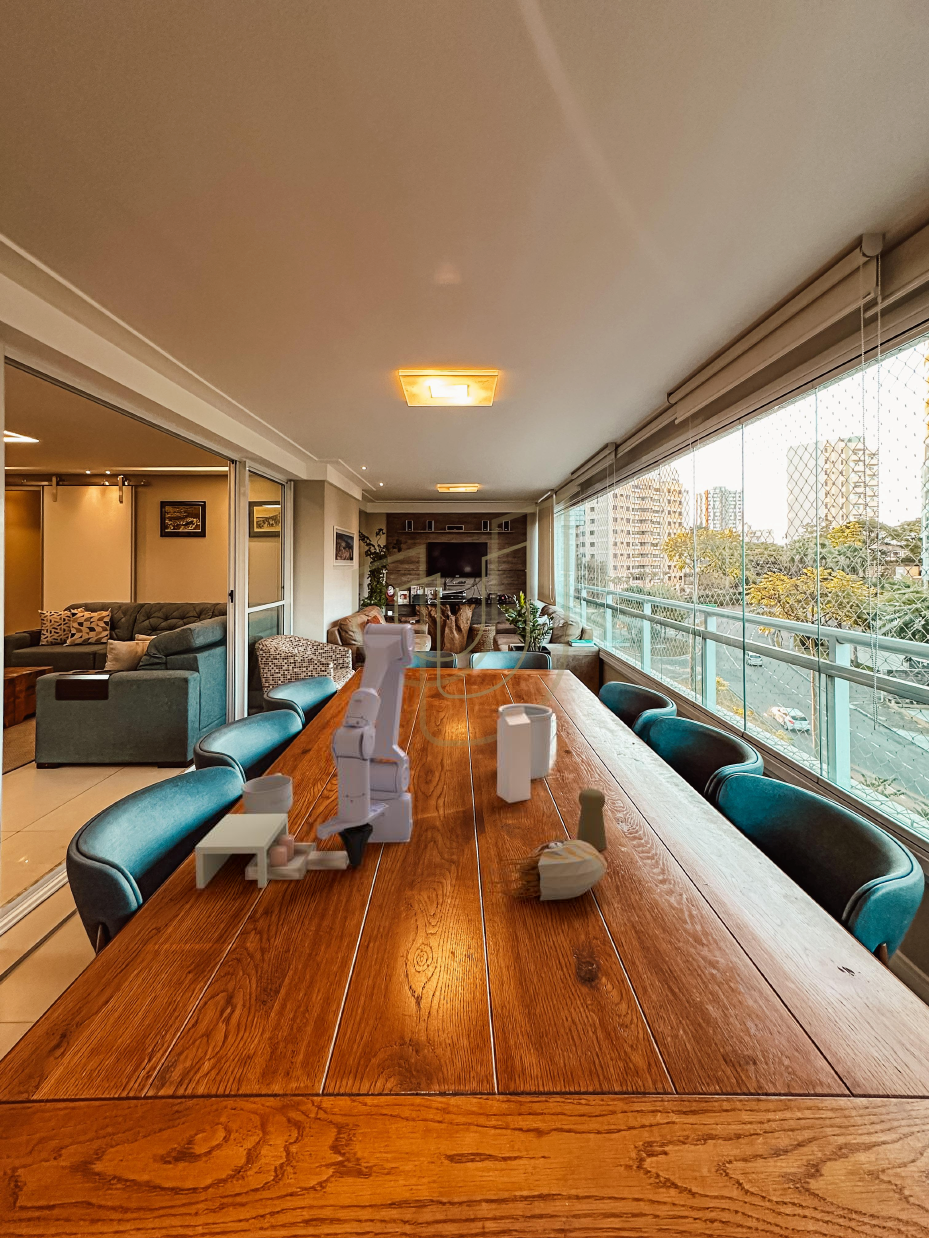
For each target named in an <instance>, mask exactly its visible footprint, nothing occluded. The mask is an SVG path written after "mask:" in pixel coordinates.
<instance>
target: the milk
mask: <svg viewBox="0 0 929 1238" xmlns="http://www.w3.org/2000/svg"><path fill="white" fill-rule="evenodd" d="M496 724H497V725H496V726H497V727H496V728H497V729H496V730H497V731H496V732H497V733H496V734H497V735H496V736H497V738H496V739H497V740H496V743H497V745H496V747H497V749H496V750H497V751H496V755H497V756H496V760H497V761H496V763H497V766H496V771H497V776H496V777H497V779H496V780H497V782H496V783H497V784H496V787H497V788H496V793H497V796H498V797H500V798H501V799H503V800H505V801H506V802H507V803H509V804H511V803H517V802H522V801H526V800H531V780H532V779H531V722H530V720H529V719H528V718H527V716H526V715H525V713H524V707H519V708H510V709H504V710H503V716H502V717H500V718H499V717H498V718H497V720H496Z"/></svg>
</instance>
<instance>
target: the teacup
mask: <svg viewBox="0 0 929 1238" xmlns="http://www.w3.org/2000/svg"><path fill="white" fill-rule="evenodd" d="M240 790H241V791H242V802H243V808H244V812H245V814H287V813H288V812H289V810H290V809H291V808H292V807H293V802H294V801H293V800H294V797H293V796H294V795H293V778H292V777H291V776H288V775H284V774H283V775H282V773H280V772H276V773H274V774H273V775H265V776H261V777H256V778H253V779H251V780H248V781H246V782H245V783H244V784H243V783H242V785H241V788H240Z"/></svg>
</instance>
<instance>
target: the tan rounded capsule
mask: <svg viewBox="0 0 929 1238" xmlns="http://www.w3.org/2000/svg"><path fill="white" fill-rule="evenodd" d="M294 843H295V836H294V834H290V833H288V834H286V835H281V836H279V837H278V838H277V846H285V847H287V862H289V861H291V860H293V859H294Z"/></svg>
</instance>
